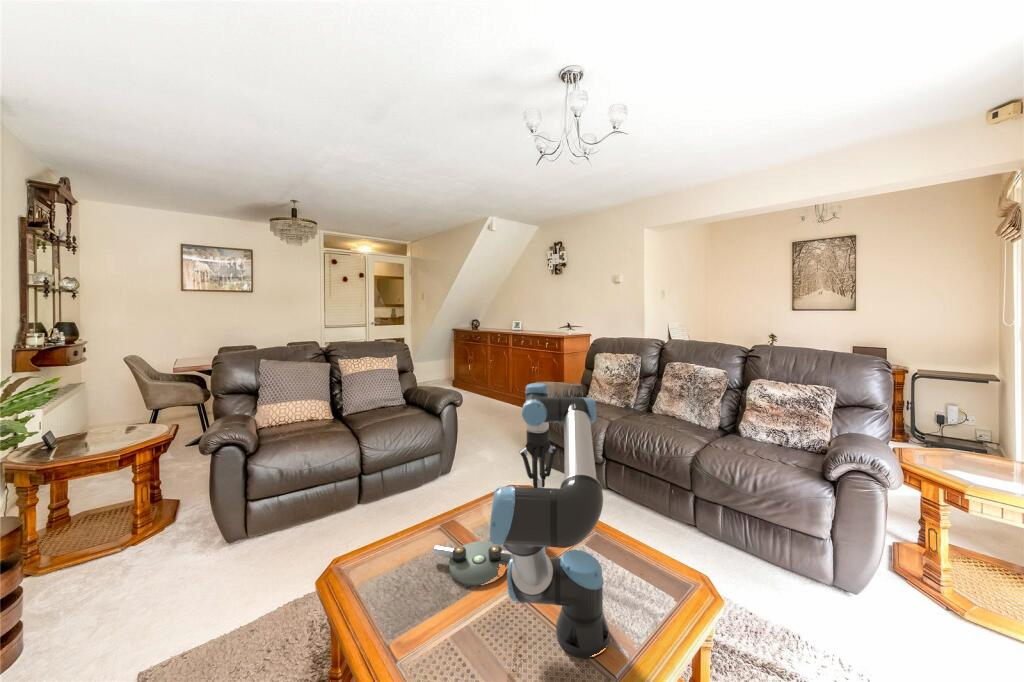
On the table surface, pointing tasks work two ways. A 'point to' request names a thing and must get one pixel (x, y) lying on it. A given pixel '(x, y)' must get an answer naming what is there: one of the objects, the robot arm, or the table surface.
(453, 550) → the knob left
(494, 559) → the knob right
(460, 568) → the plate
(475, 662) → the table surface
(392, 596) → the table surface
